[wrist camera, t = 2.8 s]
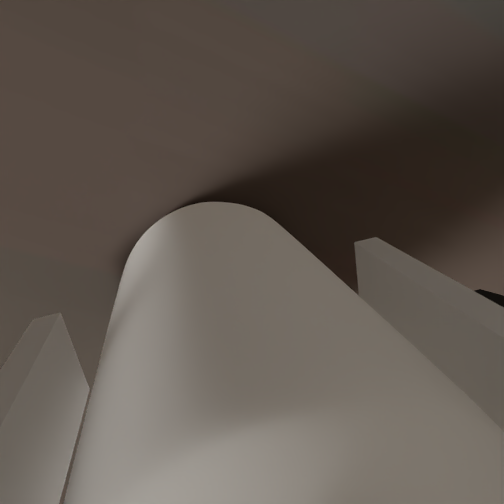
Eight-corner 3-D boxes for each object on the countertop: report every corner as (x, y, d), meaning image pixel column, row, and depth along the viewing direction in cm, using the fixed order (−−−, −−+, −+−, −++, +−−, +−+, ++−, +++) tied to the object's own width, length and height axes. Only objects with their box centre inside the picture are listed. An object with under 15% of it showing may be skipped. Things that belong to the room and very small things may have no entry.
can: (324, 225, 15) (809, 547, 4) (267, 374, 16) (491, 921, 5) (147, 173, 13) (64, 504, 2) (102, 347, 15) (-93, 1101, 3)
